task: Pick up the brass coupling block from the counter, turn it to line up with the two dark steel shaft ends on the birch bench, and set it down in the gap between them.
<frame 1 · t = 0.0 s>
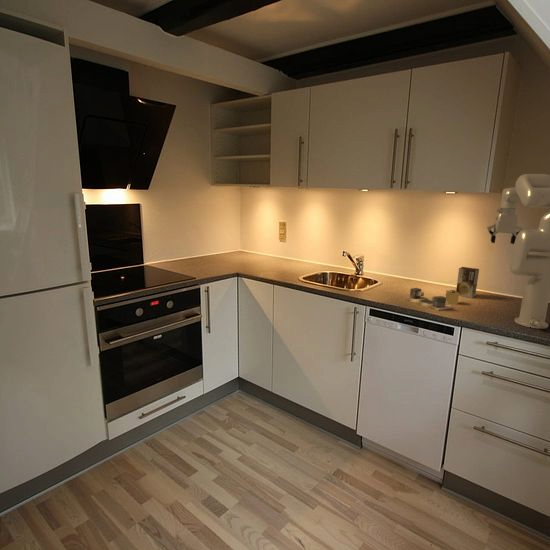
hand: (502, 243, 202), 31 cm above the counter, tool pointing down, fingers open, 9 cm apart
shaft bench: (427, 303, 193), on the counter
coffee box: (465, 296, 211), on the counter
coupling block: (451, 302, 196), on the counter
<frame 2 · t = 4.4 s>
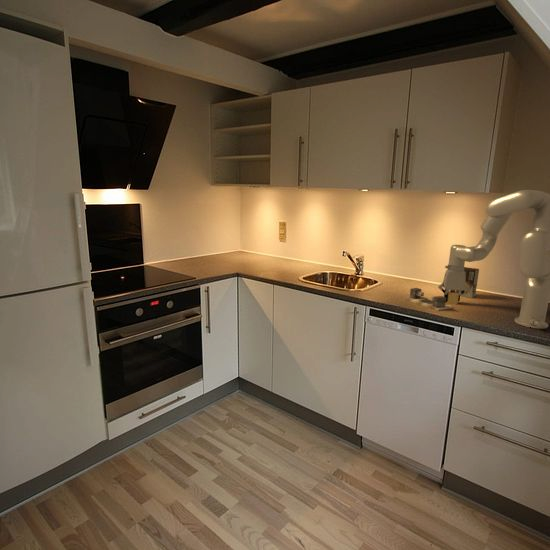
hand: (451, 301, 196), 1 cm above the counter, tool pointing down, fingers closed on coupling block, 5 cm apart
coupling block: (451, 302, 197), on the counter, touching gripper
everything else where it was.
when the fingers open (3 cm above the counter, at t = 10.0 s): coupling block drops 1 cm, resting on shaft bench.
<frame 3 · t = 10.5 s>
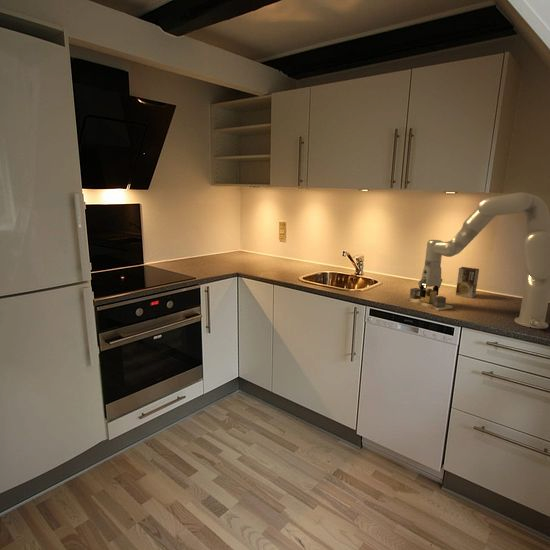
hand: (428, 296, 192), 4 cm above the counter, tool pointing down, fingers open, 9 cm apart
coupling block: (428, 301, 193), point 1 cm above the counter, touching shaft bench
everything else where it was.
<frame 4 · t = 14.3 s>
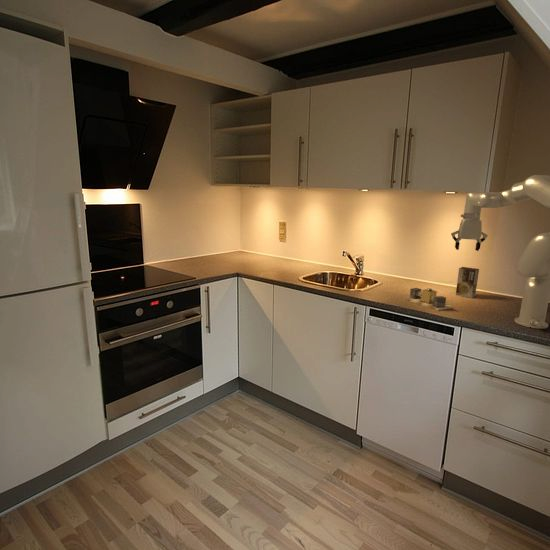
hand: (467, 250, 192), 28 cm above the counter, tool pointing down, fingers open, 9 cm apart
nothing on the counter moved.
at the end: coupling block 0.1 cm off-centre on the shaft bench, point 1.2 cm above the shaft bench's base; coupling block tilted 0°; the gripper is holding nothing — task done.
